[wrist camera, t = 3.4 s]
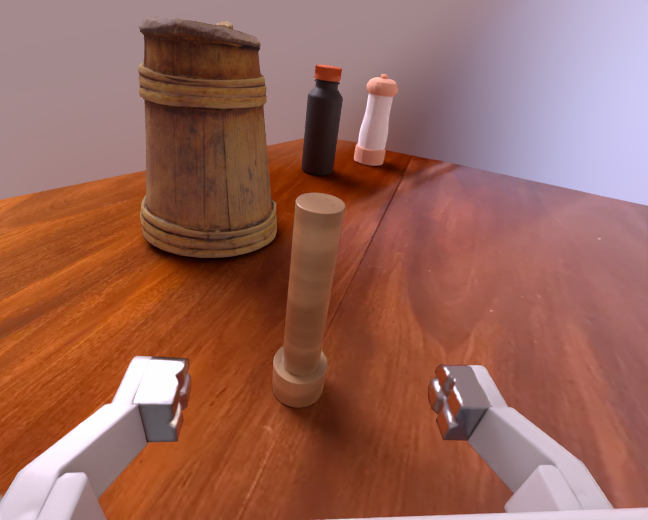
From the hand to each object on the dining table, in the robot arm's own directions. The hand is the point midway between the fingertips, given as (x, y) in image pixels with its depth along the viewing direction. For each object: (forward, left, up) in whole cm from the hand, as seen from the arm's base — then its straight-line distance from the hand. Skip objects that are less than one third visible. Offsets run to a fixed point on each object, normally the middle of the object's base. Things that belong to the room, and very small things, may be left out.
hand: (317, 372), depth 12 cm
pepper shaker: (+77, +23, -17) cm, 82 cm away
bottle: (+61, +29, -17) cm, 69 cm away
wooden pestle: (+11, +5, -16) cm, 20 cm away
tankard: (+30, +30, -17) cm, 46 cm away
